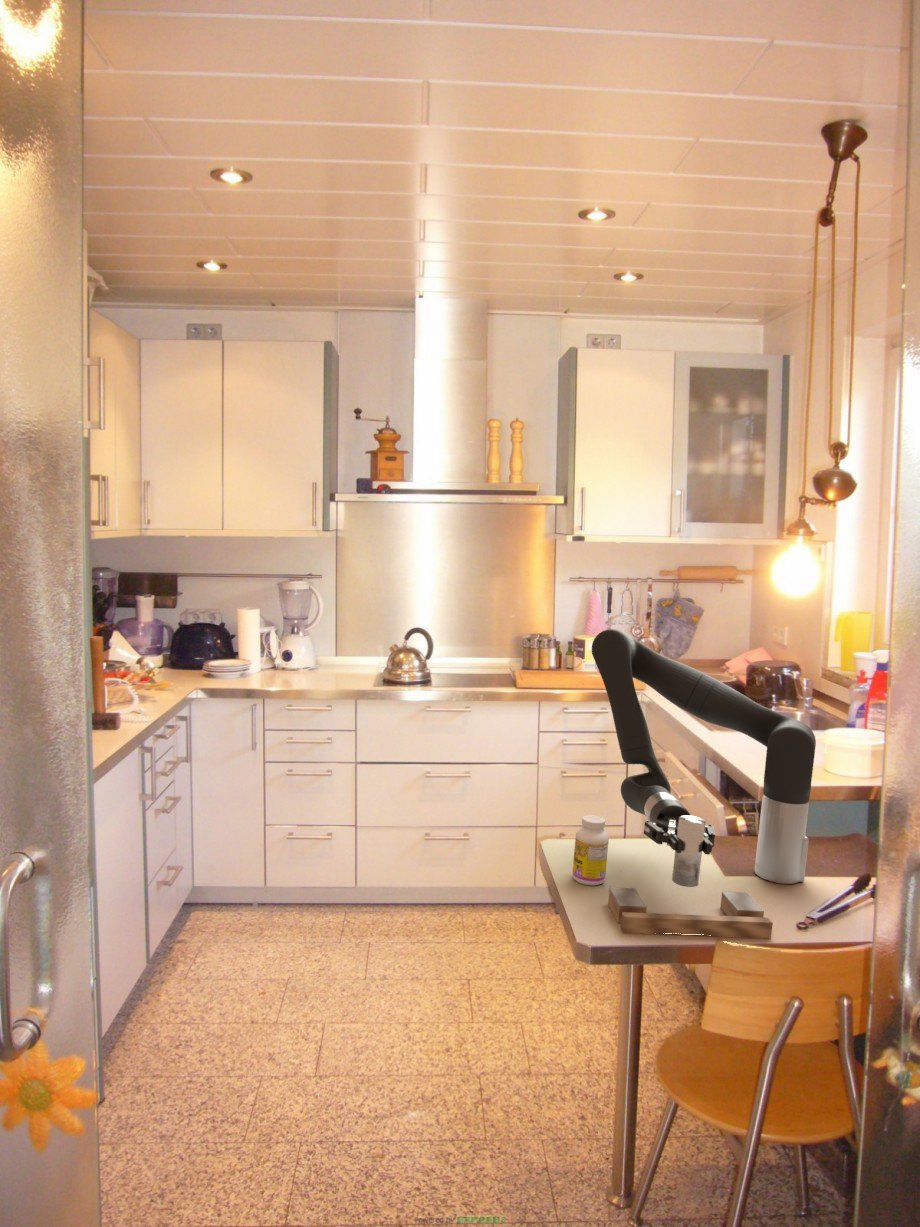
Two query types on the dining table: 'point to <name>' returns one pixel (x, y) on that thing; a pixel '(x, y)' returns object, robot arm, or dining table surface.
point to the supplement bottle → (590, 851)
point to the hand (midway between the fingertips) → (694, 848)
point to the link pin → (689, 851)
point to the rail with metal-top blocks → (691, 917)
